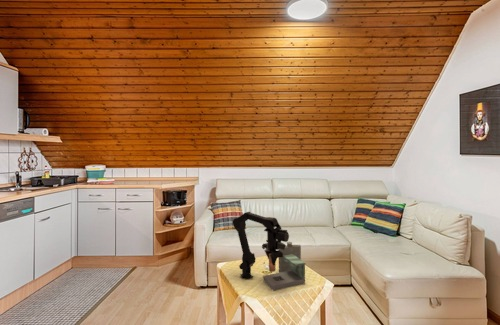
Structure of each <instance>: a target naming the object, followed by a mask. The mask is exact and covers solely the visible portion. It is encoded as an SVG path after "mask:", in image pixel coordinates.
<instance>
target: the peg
mask: <svg viewBox="0 0 500 325" xmlns="http://www.w3.org/2000/svg"><path fill="white" fill-rule="evenodd" d="M270 255H271V253H270V254H269V259H268V271H269V272H270V273H272V272H276V264H275V265H273V264H272V261H271V258H270Z"/></svg>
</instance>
